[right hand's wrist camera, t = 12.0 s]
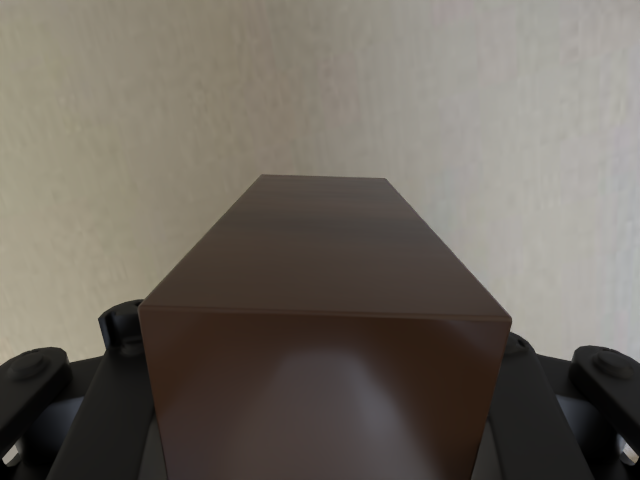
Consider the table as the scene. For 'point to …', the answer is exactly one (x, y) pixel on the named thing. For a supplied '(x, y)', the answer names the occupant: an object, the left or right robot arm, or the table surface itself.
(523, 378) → the right robot arm
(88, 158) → the table surface
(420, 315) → the plank
